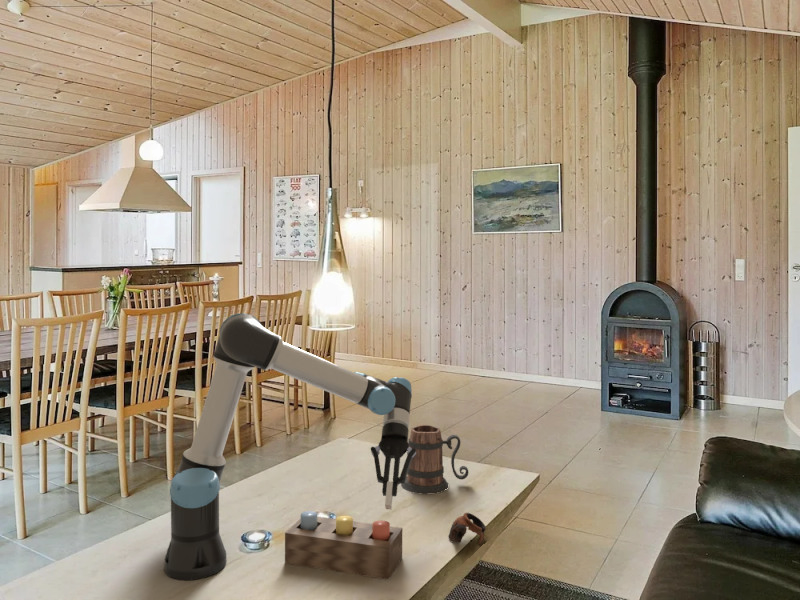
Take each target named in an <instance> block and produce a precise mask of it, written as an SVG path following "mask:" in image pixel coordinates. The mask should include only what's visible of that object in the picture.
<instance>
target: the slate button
mask: <svg viewBox="0 0 800 600" xmlns="http://www.w3.org/2000/svg"><path fill="white" fill-rule="evenodd" d="M317 517H318V512H316V511H313V510H306V511H303V512H301V513H300V519H301V529H305V530H312V531H314V530H315V529H316V528H317Z"/></svg>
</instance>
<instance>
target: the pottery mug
mask: <svg viewBox="0 0 800 600" xmlns="http://www.w3.org/2000/svg"><path fill="white" fill-rule="evenodd" d="M467 529H468V531H471V532H473V533H475V534H476V535H478V536H479V539H478V542H477V543H478V544H479V545H481V544H482V543H483V540H484V539H485V531H486V530H487V527H486V525H485V523H484V522H483V521H482V520H481V519H480V518H479V517H477V516H476V515H474V514H473V513H469V512H465V513H464V514H463V515H461V516H458V517H456V519H454V520H453V523H452V524H451V527H450V529H449V534H448V536H447V537H448V539H449V541H450V540H451V541H453V542H455V543H458V544H461V542H462V540H463V537H464V536H465V534H466V533H467ZM451 541H450V542H451Z"/></svg>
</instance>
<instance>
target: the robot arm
mask: <svg viewBox="0 0 800 600" xmlns="http://www.w3.org/2000/svg"><path fill="white" fill-rule="evenodd" d="M216 342H217V343H216V346H215V349H214V352H213V355H212V357H213V359H214V361H215V363H216V365H215V368H214V372H213V375H212V378H211V380H210V384H209V388H208V391H207V395H206V398H205V401H204V404H203V407H202V410H201V414H200V417H199V421H198V424H197V428H196V430H195V434H194V436H193V440H192V444H191V446H190V448H188V449H186V450H184V451H183V454H182V457H181V459H180V463H179V467H178V469H177V470H176V471H175V475H174V476H173V478H171V482H170V488H169V496H170V535H171V536H170V541H169V545H168V547H167V551H166V553H165V557H164V561H163V570H164V573H165V575H167V576H168V577H170V578H172V579H174V580H180V581H181V580H183V581H189V580H192V581H193V580H199V579H204V578H208V577H210V576H212V575H214V574H215V575H216V574H217V573H218V572H220V571H221V570H223V569H224V568H225V567H226V566H227V565H226V564H227V550H226V549H225V545H224V543H223V540H222V536H221V534H220V486H221V479H222V476H223V473H224V469H225V466H226V462H227V461H226V458H225V457H224V455H223V453H224V450H225V447H226V444H227V440H228V437H229V434H230V431H231V427H232V424H233V420H234V417H235V414H236V411H237V408H238V406H239V405H238V404H239V401H240V398H241V395H242V391H243V387H244V384H245V381H246V378H247V375H248V373H249V372H250V371H251V370H254V369H255V368H259V369H261V370H263V371H265V372H266V371H267V370H268V371H269V370H270V369H271V370H274V371H276V372H279V373H281V374H283V375H286V376H288V377H291V378H293V379H295V380H297V381H300V382H303V383H306V384H308V385H311V386H312V387H315V388H317V389H321V390H322V391H324V392H327V393H330V394H332V395H334V396H337V397H339V398H342V399H344V400H347V401H348V402H352V403H354V404H356V405H358V406H361V407H362V408H365V409H368V410H370V411H371V413H373V414H376V415H379V416H383V420H382V421H383V422H382V429H381V439H380V441H379V443H378V445H377V446H371V447H370V452H371V455H372V457H373V461H374V465H375V466H374V467H375V473H376V480H377V483H379V484H382V490H381V491H382V492H381V493H382V496H384V497H385V501H384V506H385V510H392V508H393V497H397V495H398V486H399V485H401V484H404V482H405V480H406V477H407V474H408V471H409V468H410V465H411V462H412V460H413V458H414V457H415V456H416V449H414V448H413V449H412V448H410V447H409V444H408V442H409V432H410V431H409V428H410V417H411V415H410V413H411V403H412V396H413V394H412V390H413V389H412V383H411V382H410V381H409V380H408V379H406V377H405V378H404V377H397V376H395V377H392V378H390V379H389V380H388V381H385V380H383V379H381V378H380V379H379V378H377V377H374V376H371V375H369V374H366V373H362V372H359V371H352V370H349V369H347V368H345V367H342V366H340V365H338V364H335V363H333V362H330V361H328V360H326V359H324V358H322V357H319V356H317V355H314V354H312V353H310V352H307V351H305V350H303V349H300V348H299V347H296V346H293V345H291V344H289V343H287V342H286V341H285V342H284V341H283V338H282V336H280V335H278V334H276V333H274V332H272V331H270V330H269V329H267V328H266V327H264V326H263V325H262V323H261V321H260V320H259V319H257V317H256V316H254V315H252V314H249V313H244V312H243V313H242V312H240V313H235V314H232V315H230V316H228V317H226V319H225V320H224V321H223V322H222V323H221V326H220V328H219V336H218V339H217V341H216ZM380 451H381V453H382V454H383V456H384V457H385V459H384V469H383V476H382V471H381V465H380V458H379V455H380ZM406 453H407V455H406V459H405V461H404V464H403V467H402V470H401V473H400V463H401V458H402V457H403V456H404V455H405V454H406ZM393 459H394V462H393V473H392V474H393V475H392V481H389V480H390V470H391V463H392V460H393Z"/></svg>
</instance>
